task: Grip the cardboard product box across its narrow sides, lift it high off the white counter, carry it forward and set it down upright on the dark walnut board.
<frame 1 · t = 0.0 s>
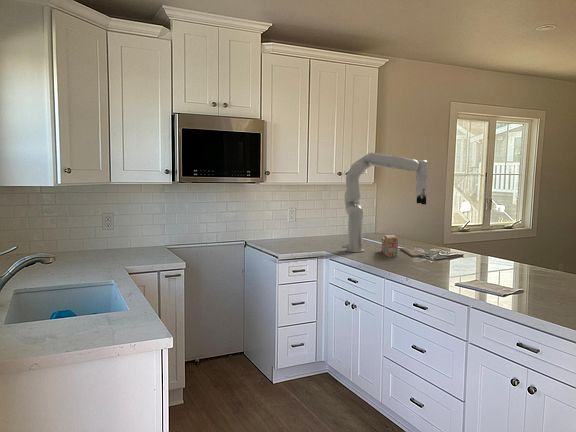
hand: (421, 203, 314), 31 cm above the counter, tool pointing down, fingers open, 9 cm apart
cardboard product box: (389, 254, 303), on the counter
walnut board: (415, 252, 304), on the counter
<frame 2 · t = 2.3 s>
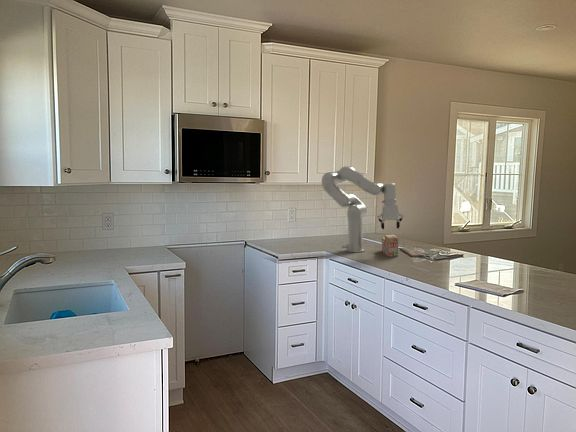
hand: (390, 228, 301), 16 cm above the counter, tool pointing down, fingers open, 9 cm apart
nothing on the counter moved.
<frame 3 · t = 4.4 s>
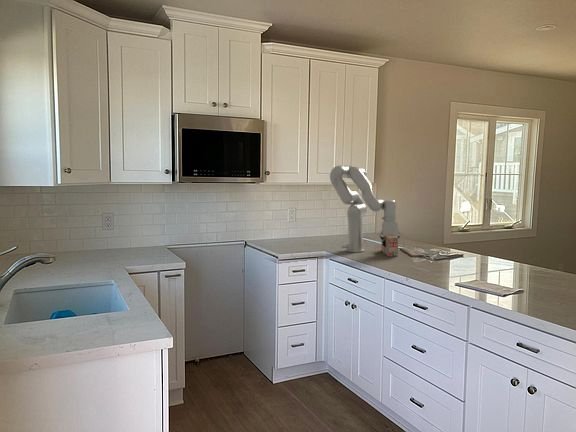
hand: (389, 246, 303), 5 cm above the counter, tool pointing down, fingers closed on cardboard product box, 6 cm apart
cardboard product box: (389, 253, 304), on the counter, touching gripper
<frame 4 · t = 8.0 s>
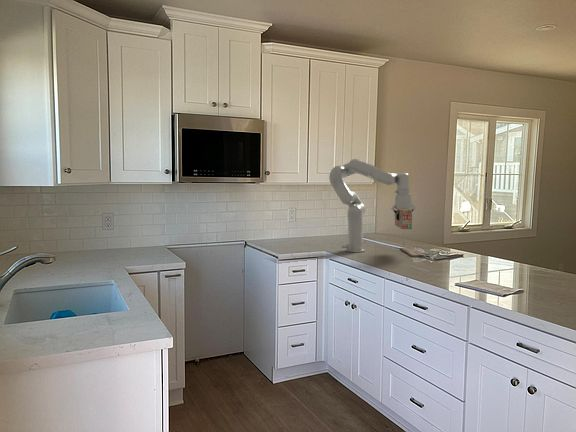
hand: (403, 219, 301), 22 cm above the counter, tool pointing down, fingers closed on cardboard product box, 6 cm apart
cardboard product box: (403, 227, 302), point 17 cm above the counter, touching gripper
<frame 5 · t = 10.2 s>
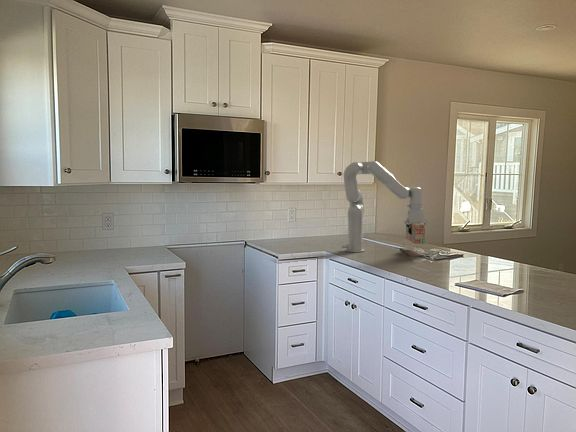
hand: (415, 233, 302), 13 cm above the counter, tool pointing down, fingers closed on cardboard product box, 6 cm apart
cardboard product box: (415, 241, 304), point 8 cm above the counter, touching gripper
when the fingers open (7 cm above the counter, at t = 12.1 s): cardboard product box drops 1 cm, resting on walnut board.
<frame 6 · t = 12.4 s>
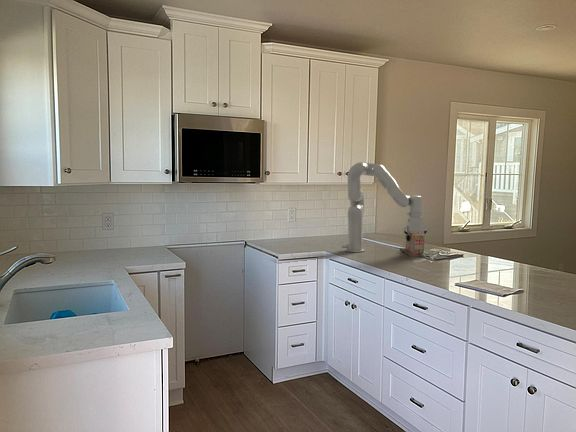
hand: (415, 240, 303), 8 cm above the counter, tool pointing down, fingers open, 8 cm apart
cardboard product box: (414, 251, 305), point 1 cm above the counter, touching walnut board
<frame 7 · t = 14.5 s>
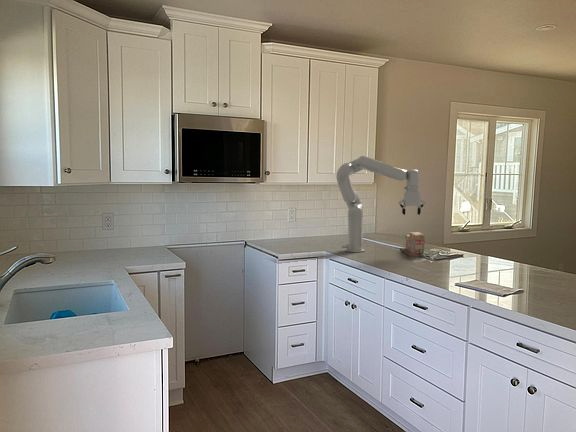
hand: (411, 214, 305), 25 cm above the counter, tool pointing down, fingers open, 9 cm apart
nothing on the counter moved.
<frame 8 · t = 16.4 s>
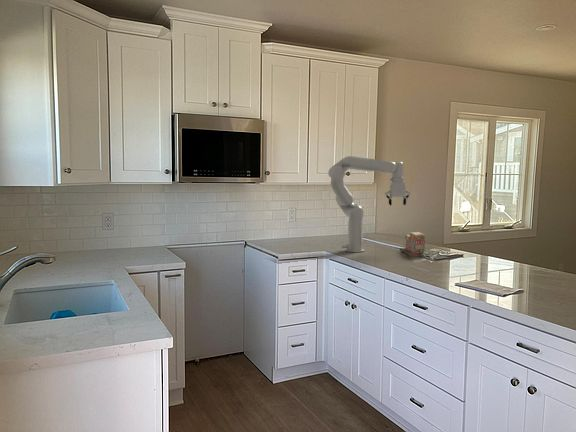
hand: (397, 205, 318), 30 cm above the counter, tool pointing down, fingers open, 9 cm apart
nothing on the counter moved.
at the end: cardboard product box inside the target area on the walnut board (1.2 cm from its centre), point 1.0 cm above the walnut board's base; cardboard product box tilted 0°; the gripper is holding nothing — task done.
